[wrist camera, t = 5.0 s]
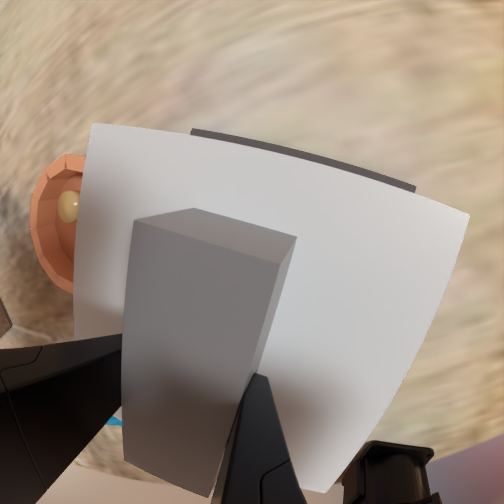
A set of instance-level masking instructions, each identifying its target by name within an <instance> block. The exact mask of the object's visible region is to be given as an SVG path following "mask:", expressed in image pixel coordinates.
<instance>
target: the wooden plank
mask: <svg viewBox="0 0 504 504" xmlns="http://www.w3.org/2000/svg"><path fill="white" fill-rule="evenodd" d="M11 326H12V323H11V320H10V318H9V316H8V314H7V311H6V309H5V307H4V305H3V303H2V300H1V298H0V338H1V337H2V336H3V335H4V334H5V332H6V331H7V330H8V329H9V328H10V327H11Z"/></svg>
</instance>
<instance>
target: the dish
mask: <svg viewBox="0 0 504 504" xmlns="http://www.w3.org/2000/svg"><path fill="white" fill-rule="evenodd" d="M85 158H86V155H71V154H66V155H64V156H62V157H61V158H59V159H58V160H56V161H55V162H53V163H52V164H50V165H49V166H47V167H46V168H45V170H43V172H42V174H41V176H40V178H39V181H38V183H37V185H36V187H35V189H34V191H33V194H32V196H33V197H31V209H30V226H29V228H32V229H30V233H31V237H32V241H33V245H34V248H35V252H36V256H37V259H39V263H40V264H41V266H42V267H43V269H44V270H45V272H46V273H47V275H48V276H49V277H50V279H51V280H52V282H53V283H54V284H56V286H57V287H59V288H61V289H63V290H65V291H67V292H68V293H70V294H72V295H73V277H74V253H75V238H76V226H77V215H78V206H79V198H80V190H81V183H82V176H83V170H84V164H85Z"/></svg>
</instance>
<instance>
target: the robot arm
mask: <svg viewBox="0 0 504 504" xmlns="http://www.w3.org/2000/svg"><path fill="white" fill-rule="evenodd" d="M121 362H122V333H120V334H114V335H108V336H102V337H96V338H89V339H83V340H77V341H70V342H63V343H56V344H49V345H44V346H42V345H41V346H34V347H24V348H13V349H0V504H36V502H37V501H38V500H39V499H40V498H41V497H42V496H43V494H44V493H45V492H46V491H47V489H49V487H50V486H51V485H52V484H53V483H54V482H55V481H56V479H57V478H58V477H59V476H60V475H61V474H62V473H63V472H64V470H65V469H66V468H67V467H68V466H69V465H70V464H71V463H72V461H73V460H74V459H75V458H76V457H77V456H78V455H79V453H80V452H81V451H82V450H83V449H84V448H85V447H86V446H87V444H88V443H89V442H90V441H91V440H92V439H93V438H94V436H95V435H96V434H97V433H98V432H99V431H100V430H101V428H102V427H103V426H104V425H105V424H106V423H107V422H108V421H109V419H110V418H111V417H112V416H113V415H114V414H115V413H116V411H117V410H118V409H119V408H120V407H121ZM433 456H434V450H433V449H428V448H419V447H411V446H403V445H396V444H389V443H383V442H372V443H371V444H370V445H369V446H368V447H367V449H366V450H365V452H364V453H363V454H362V456H361V457H360V458H359V459H357V460H356V461H355V462H354V464H353V465H352V466H351V468H350V469H349V470H348V471H347V473H346V474H345V477H344V479H343V480H342V485H343V486H344V497H343V504H442V501H441V498H440V495H439V492H436V493H434V494H432V495H431V494H430V488H429V483H428V478H427V473H426V468H425V465H426V464H427V463H428V462H429V460H430V459H431V458H432V457H433ZM211 504H307V502H306V500H305V497H304V495H303V493H302V491H301V488H300V486H299V483H298V480H297V477H296V474H295V471H294V467H293V464H292V461H291V457H290V454H289V450H288V447H287V443H286V440H285V436H284V433H283V429H282V426H281V422H280V419H279V415H278V412H277V408H276V404H275V401H274V397H273V394H272V390H271V386H270V383H269V379H268V377H267V376H264V375H261V374H258V373H254V374H253V376H252V378H251V380H250V382H249V384H248V386H247V388H246V390H245V392H244V394H243V396H242V399H241V402H240V405H239V408H238V411H237V414H236V417H235V420H234V424H233V427H232V430H231V433H230V436H229V439H228V442H227V445H226V448H225V452H224V456H223V460H222V463H221V467H220V471H219V475H218V478H217V482H216V486H215V489H214V493H213V497H212V500H211Z"/></svg>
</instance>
